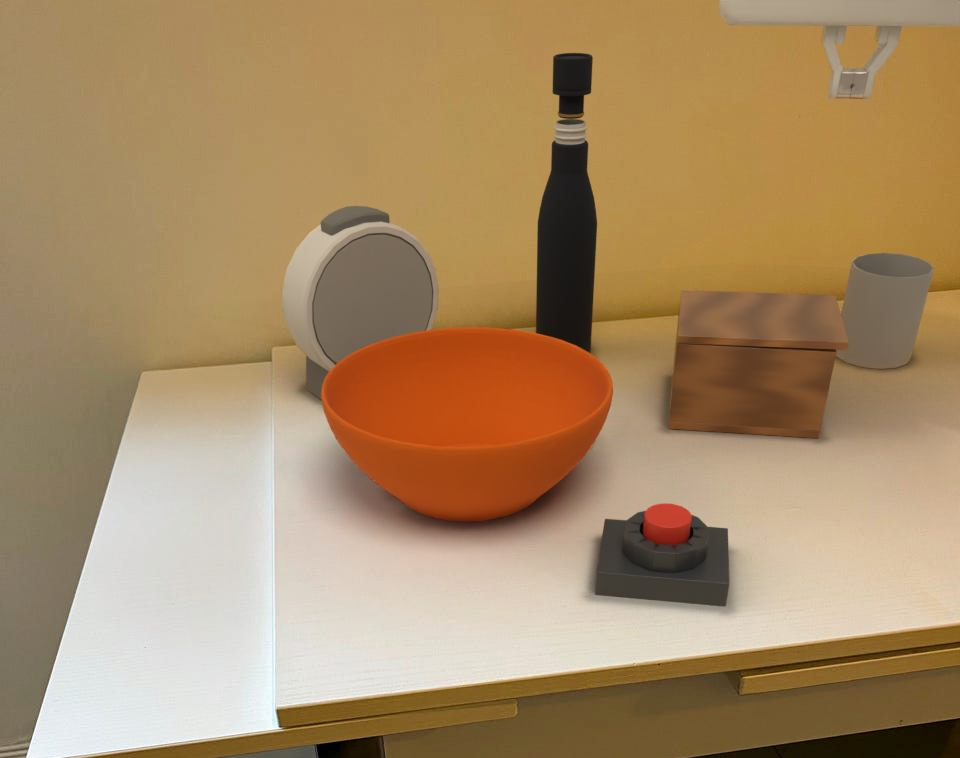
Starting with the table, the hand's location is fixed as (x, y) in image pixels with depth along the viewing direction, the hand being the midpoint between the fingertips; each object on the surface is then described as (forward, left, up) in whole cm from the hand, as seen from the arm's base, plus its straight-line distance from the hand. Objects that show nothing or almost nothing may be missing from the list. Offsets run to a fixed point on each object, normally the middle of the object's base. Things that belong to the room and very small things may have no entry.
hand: (848, 97), depth 73 cm
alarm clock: (+43, -14, -31) cm, 55 cm away
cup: (-12, -30, -31) cm, 45 cm away
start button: (+10, +18, -28) cm, 34 cm away
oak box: (+3, -14, -31) cm, 34 cm away
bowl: (+28, +6, -31) cm, 42 cm away
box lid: (+3, -14, -22) cm, 26 cm away
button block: (+10, +18, -31) cm, 37 cm away
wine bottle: (+23, -26, -31) cm, 47 cm away
